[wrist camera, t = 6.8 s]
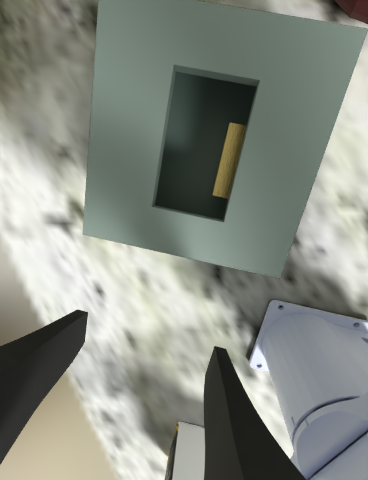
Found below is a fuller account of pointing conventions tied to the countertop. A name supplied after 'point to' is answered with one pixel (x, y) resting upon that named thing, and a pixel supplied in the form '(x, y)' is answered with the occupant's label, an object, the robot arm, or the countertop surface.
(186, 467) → the medicine bottle
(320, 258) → the countertop surface
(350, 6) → the potato
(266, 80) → the box
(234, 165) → the gold rectangular block
